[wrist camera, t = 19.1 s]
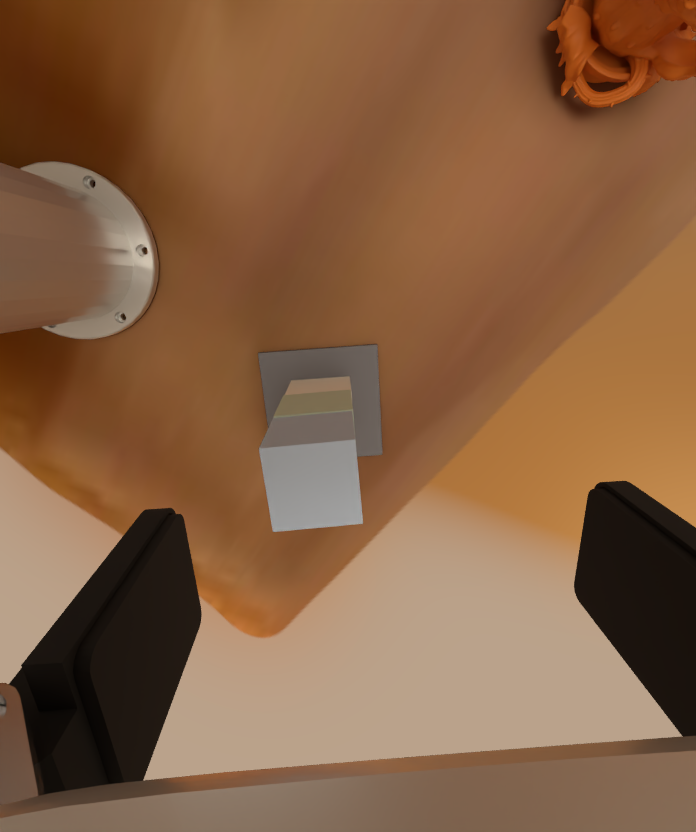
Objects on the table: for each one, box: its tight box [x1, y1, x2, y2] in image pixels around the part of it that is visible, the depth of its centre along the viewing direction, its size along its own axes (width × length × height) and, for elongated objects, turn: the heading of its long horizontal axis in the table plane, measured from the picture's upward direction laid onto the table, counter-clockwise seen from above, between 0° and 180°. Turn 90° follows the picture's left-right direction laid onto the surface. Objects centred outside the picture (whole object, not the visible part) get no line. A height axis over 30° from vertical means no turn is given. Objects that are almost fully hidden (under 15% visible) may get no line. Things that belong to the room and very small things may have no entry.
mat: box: [258, 344, 382, 457], centre depth 37 cm, size 10×10×1 cm
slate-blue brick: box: [259, 411, 363, 532], centre depth 25 cm, size 5×5×5 cm
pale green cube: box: [274, 389, 355, 432], centre depth 30 cm, size 5×5×5 cm
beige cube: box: [285, 376, 352, 397], centre depth 34 cm, size 5×5×5 cm
